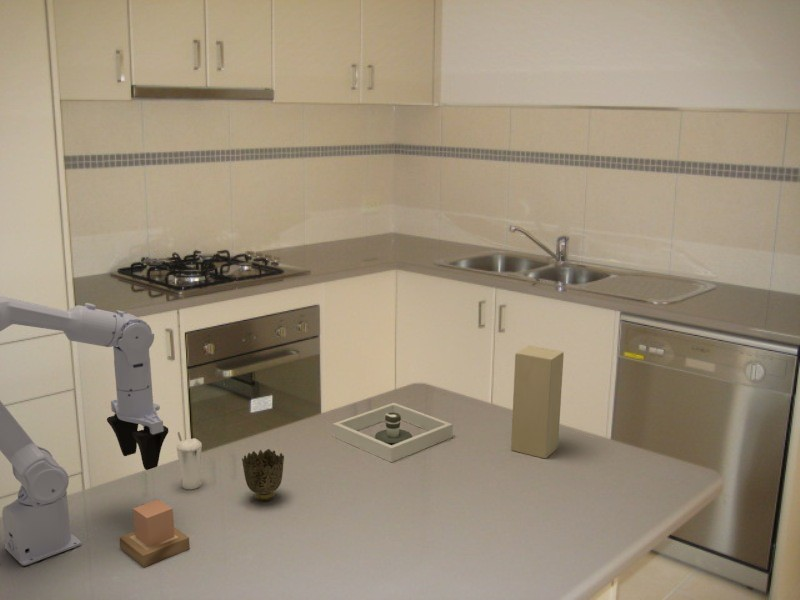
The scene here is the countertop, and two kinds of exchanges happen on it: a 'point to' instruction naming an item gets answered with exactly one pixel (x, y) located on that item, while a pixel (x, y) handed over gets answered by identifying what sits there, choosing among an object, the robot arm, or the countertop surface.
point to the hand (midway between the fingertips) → (140, 460)
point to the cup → (263, 473)
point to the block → (153, 522)
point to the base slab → (153, 548)
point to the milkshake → (189, 462)
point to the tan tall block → (536, 401)
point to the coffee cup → (392, 430)
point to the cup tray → (434, 435)
